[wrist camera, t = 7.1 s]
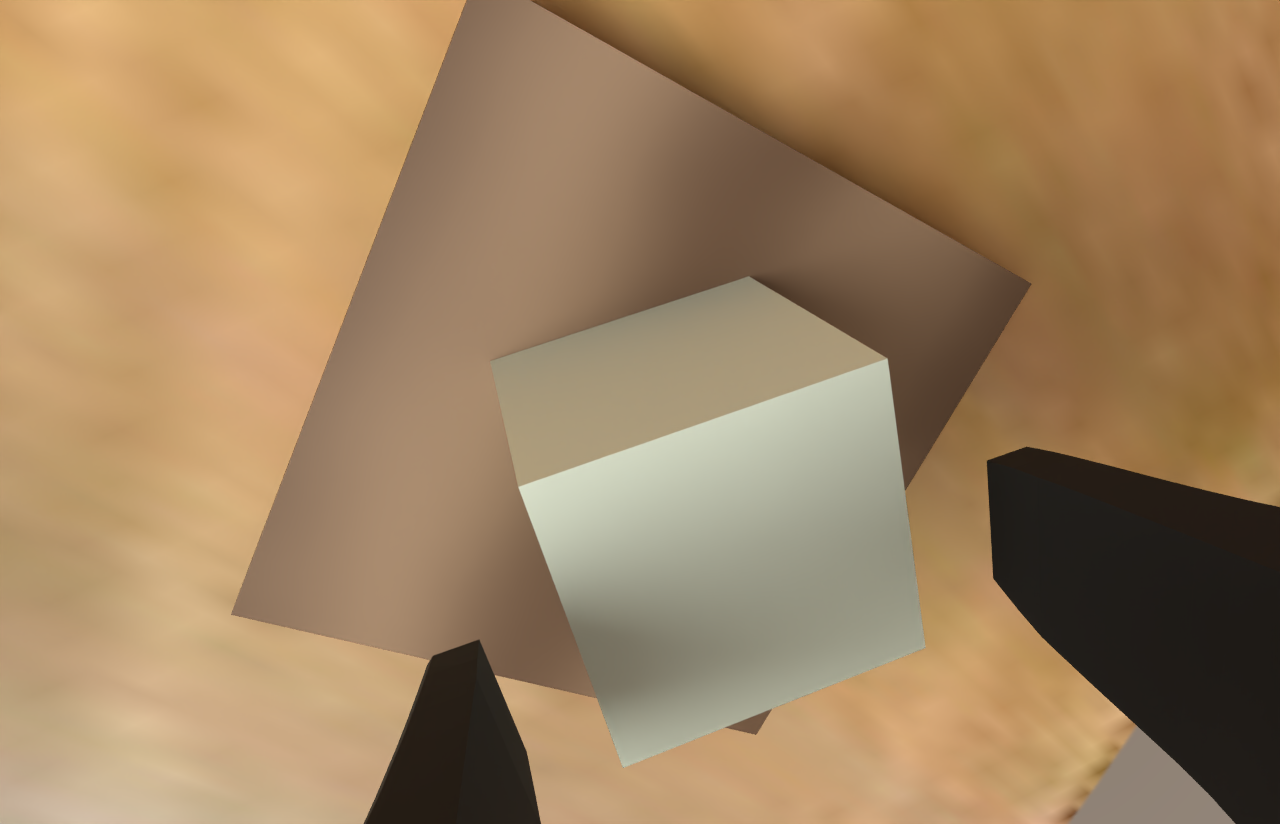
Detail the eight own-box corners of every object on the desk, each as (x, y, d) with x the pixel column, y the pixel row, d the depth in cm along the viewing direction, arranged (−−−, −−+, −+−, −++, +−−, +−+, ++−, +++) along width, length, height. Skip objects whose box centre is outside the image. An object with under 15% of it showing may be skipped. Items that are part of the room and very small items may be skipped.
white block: (748, 276, 15) (887, 358, 10) (793, 499, 17) (925, 647, 12) (490, 361, 14) (518, 487, 10) (569, 581, 16) (623, 767, 12)
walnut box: (946, 255, 19) (1031, 283, 16) (716, 654, 22) (756, 734, 19) (469, -9, 15) (478, -29, 12) (261, 533, 18) (231, 614, 15)
